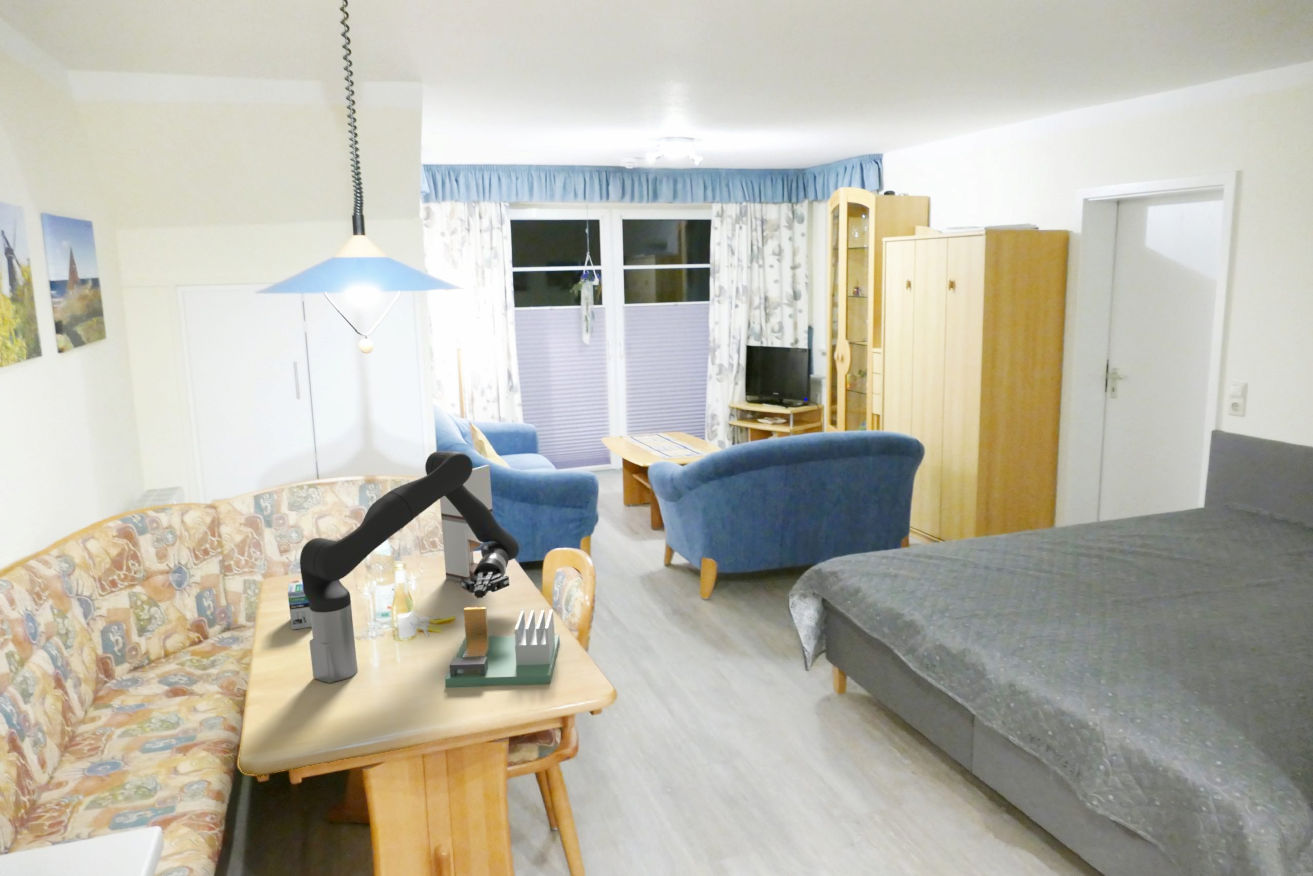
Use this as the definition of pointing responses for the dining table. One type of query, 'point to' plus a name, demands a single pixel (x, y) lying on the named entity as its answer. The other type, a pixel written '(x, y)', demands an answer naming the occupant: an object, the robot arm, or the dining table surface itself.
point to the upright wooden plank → (476, 632)
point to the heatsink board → (510, 657)
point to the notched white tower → (463, 528)
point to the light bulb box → (298, 605)
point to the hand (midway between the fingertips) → (479, 594)
